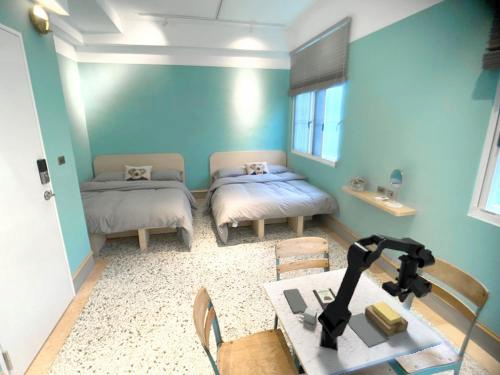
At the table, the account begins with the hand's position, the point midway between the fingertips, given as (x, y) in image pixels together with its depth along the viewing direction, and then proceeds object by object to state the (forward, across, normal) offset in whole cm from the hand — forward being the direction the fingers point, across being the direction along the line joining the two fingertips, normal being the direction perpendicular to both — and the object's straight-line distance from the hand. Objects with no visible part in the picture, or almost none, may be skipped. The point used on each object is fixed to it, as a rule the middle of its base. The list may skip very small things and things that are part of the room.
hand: (401, 302), depth 105 cm
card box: (+4, -7, 0) cm, 8 cm away
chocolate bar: (+9, -22, +17) cm, 29 cm away
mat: (+8, -17, 0) cm, 19 cm away
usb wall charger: (+8, -36, +13) cm, 40 cm away
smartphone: (+9, -36, +24) cm, 44 cm away
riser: (+8, -7, 0) cm, 11 cm away
